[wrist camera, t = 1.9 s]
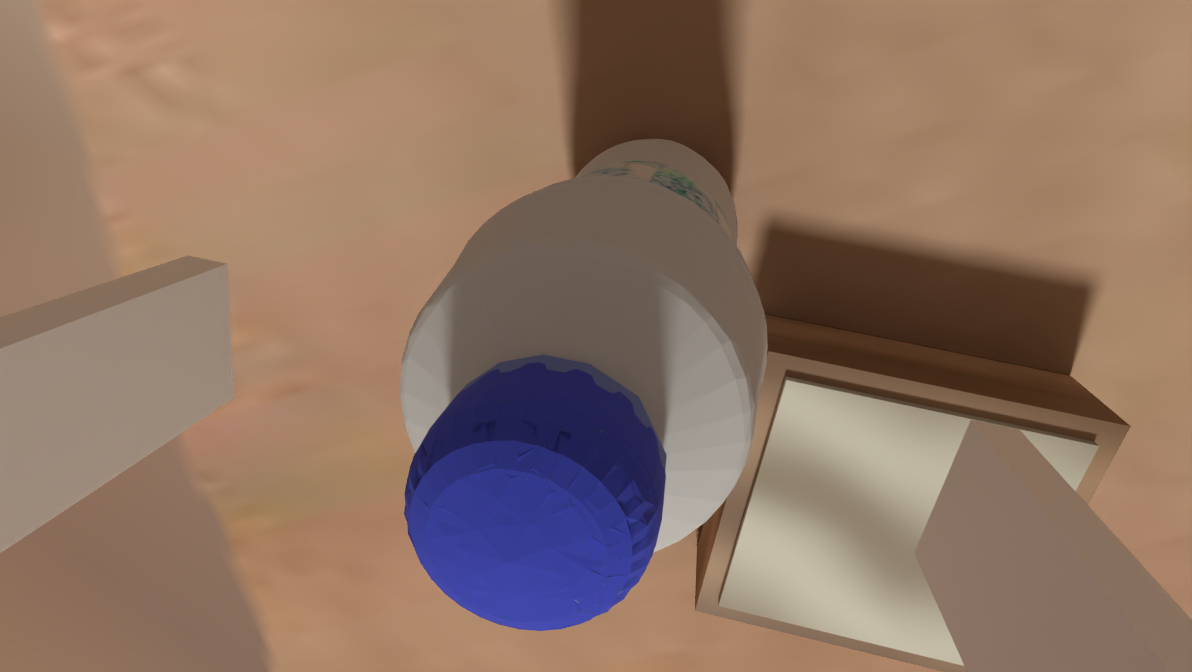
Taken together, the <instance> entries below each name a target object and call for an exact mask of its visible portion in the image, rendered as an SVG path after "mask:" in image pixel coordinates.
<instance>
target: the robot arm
mask: <svg viewBox="0 0 1192 672" xmlns="http://www.w3.org/2000/svg"><path fill="white" fill-rule="evenodd" d="M233 398H234V390H233V371H232V351H231V332H230V313H229V293H228V274H227V264H225V263H221V262H216V261H211V260H206V259H202V258H197V257H192V256H185V257H182V258H179V259H176V260H173V261H170V262H167V263H164V264H161V265H158V266H155V267H152V268H149V269H146V270H143V271H140V272H137V273H134V274H131V275H128V276H125V277H122V278H119V279H116V280H112V281H109V282H106V283H103V284H100V285H97V286H94V287H91V288H88V289H85V290H82V291H79V292H76V293H73V294H70V295H67V296H64V297H61V298H58V299H55V300H52V301H49V302H46V303H43V304H40V305H37V306H34V307H31V308H28V309H25V310H22V311H19V312H16V313H13V314H9V315H6V316H3V317H0V553H1V552H3V551H4V550H6V549H7V548H9V547H10V546H12V545H13V544H15V543H16V542H18V541H19V540H21V539H22V538H24V537H25V536H27V535H28V534H30V533H31V532H33V531H34V530H36V529H37V528H39V527H40V526H42V525H43V524H45V523H46V522H48V521H49V520H51V519H53V518H54V517H55V516H57V515H59V514H60V513H61V512H63V511H65V510H66V509H68V508H69V507H70V506H72V505H73V504H75V503H77V502H78V501H80V500H81V499H82V498H84V497H85V496H87V495H88V494H90V493H92V492H93V491H94V490H96V489H98V488H99V487H101V486H102V485H104V484H105V483H107V482H108V481H110V480H111V479H113V478H114V477H116V476H117V475H119V474H120V473H122V472H123V471H125V470H126V469H128V468H129V467H131V466H132V465H134V464H135V463H137V462H138V461H140V460H141V459H143V458H144V457H145V456H147V455H149V454H150V453H152V452H153V451H155V450H156V449H158V448H159V447H161V446H162V445H164V444H166V443H167V442H168V441H170V440H172V439H173V438H175V437H176V436H178V435H179V434H181V433H182V432H184V431H185V430H187V429H188V428H190V427H191V426H193V425H194V424H196V423H197V422H199V421H200V420H202V419H203V418H205V417H206V416H208V415H209V414H211V413H212V412H214V411H215V410H217V409H218V408H220V407H221V406H223V405H224V404H226V403H227V402H229V401H230V400H232V399H233ZM914 553H915V556H916V558H917V560H918V562H919V565H920V567H921V569H922V571H923V574H924V576H925V578H926V580H927V583H928V585H929V587H930V589H931V592H932V594H933V596H934V598H935V601H936V603H937V605H938V607H939V610H940V612H941V614H942V616H943V619H944V621H945V623H946V626H947V628H948V630H949V632H950V635H951V637H952V639H953V641H954V644H955V646H956V648H957V650H958V653H959V655H960V657H961V659H962V662H963V664H964V666H965V668H966V671H967V672H1192V620H1191V619H1190V617H1189V616H1188V615H1187V614H1186V613H1185V612H1184V611H1183V610H1182V609H1181V607H1180V606H1179V605H1178V604H1177V603H1176V602H1175V601H1174V600H1173V599H1172V598H1171V596H1170V595H1169V594H1168V593H1167V592H1166V591H1165V590H1164V589H1163V588H1162V587H1161V585H1160V584H1159V583H1158V582H1157V581H1156V580H1155V579H1154V578H1153V577H1152V575H1151V574H1150V573H1149V572H1148V571H1147V570H1146V569H1145V568H1144V567H1143V566H1142V564H1141V563H1140V562H1139V561H1138V560H1137V559H1136V558H1135V557H1134V556H1133V555H1132V553H1131V552H1130V551H1129V550H1128V549H1127V548H1126V547H1125V546H1124V545H1123V543H1122V542H1121V541H1120V540H1119V539H1118V538H1117V537H1116V536H1115V535H1114V534H1113V532H1112V531H1111V530H1110V529H1109V528H1108V527H1107V526H1106V525H1105V524H1104V523H1103V521H1102V520H1101V519H1100V518H1099V517H1098V516H1097V515H1096V514H1095V513H1094V511H1093V510H1092V509H1091V508H1090V507H1089V506H1088V505H1087V504H1086V503H1085V502H1084V500H1083V499H1082V498H1081V497H1080V496H1079V495H1078V494H1077V493H1076V492H1075V491H1074V489H1073V488H1072V487H1071V486H1070V485H1069V484H1068V483H1067V482H1066V481H1065V479H1064V478H1063V477H1062V476H1061V475H1060V474H1059V473H1058V472H1057V471H1056V470H1055V468H1054V467H1053V466H1052V465H1051V464H1050V463H1049V462H1048V461H1047V460H1046V458H1045V457H1044V456H1043V455H1042V454H1041V453H1040V452H1039V451H1038V450H1037V449H1036V447H1035V446H1034V445H1033V444H1032V443H1031V442H1030V441H1029V440H1028V439H1027V438H1026V436H1025V435H1024V434H1023V433H1022V432H1021V431H1020V430H1019V429H1015V428H1010V427H1005V426H1000V425H995V424H991V423H986V422H981V421H976V420H972V419H971V421H970V423H969V425H968V428H967V430H966V432H965V435H964V437H963V439H962V442H961V444H960V446H959V449H958V451H957V454H956V456H955V458H954V461H953V463H952V465H951V468H950V470H949V472H948V475H947V477H946V479H945V482H944V484H943V486H942V489H941V491H940V494H939V496H938V498H937V501H936V503H935V505H934V508H933V510H932V512H931V515H930V517H929V519H928V522H927V524H926V526H925V529H924V531H923V534H922V536H921V538H920V541H919V543H918V545H917V548H916V550H915V552H914Z"/></svg>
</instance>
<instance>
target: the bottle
mask: <svg viewBox="0 0 1192 672" xmlns="http://www.w3.org/2000/svg"><path fill="white" fill-rule="evenodd" d="M767 349H768V341H767V324H766V319H765V314H764V310H763V306H762V303H761V300H760V296H759V294H758V291H757V289H756V286H755V284H754V281H753V278H752V275H751V273H750V271H749V269H748V267H747V265H746V263H745V261H744V259H743V257H742V254H741V252H740V251H739V249H738V247H737V217H736V211H735V205H734V202H733V199H732V197H731V194H730V191H729V189H728V186H727V183H726V182H725V180H724V179H723V177H722V176H721V175H720V173H719V172H718V171H717V170H716V169H715V168H714V167H713V166H712V165H711V164H710V163H709V162H708V161H707V160H706V159H705V158H704V157H702V156H701V155H699V154H698V153H696V152H695V151H693V150H691V149H690V148H688V147H686V146H685V145H682V144H680V143H678V142H675V141H671V140H665V139H641V140H633V141H628V142H625V143H621V144H618V145H616V146H614V147H611V148H609V149H607V150H605V151H604V152H602V153H601V154H599V155H597V156H596V157H595V158H594V159H592V160H591V161H590V162H589V163H588V164H587V165H586V166H585V167H583V168H582V169H581V171H580V172H579V173H578V174H577V175H576V177H575V178H574V179H570V180H566V181H563V182H559V183H555V184H552V185H550V186H548V187H545V188H543V189H540V190H538V191H535V192H533V193H531V194H528V195H526V196H524V197H522V198H519V199H518V200H516V201H514V202H513V203H511V204H509V205H508V206H506V207H504V208H503V209H501V210H500V211H499V212H497V213H496V214H495V215H494V216H493V217H491V218H490V219H489V220H488V221H486V222H485V223H484V224H483V225H482V226H481V227H480V228H479V230H478V231H477V232H476V233H475V234H474V235H473V236H472V238H471V239H470V240H469V241H468V242H467V244H466V246H465V248H464V249H463V251H462V253H461V254H460V256H459V258H458V259H457V261H456V263H455V264H454V266H453V267H452V269H451V270H450V271H449V273H448V274H447V275H446V277H445V278H444V279H443V281H442V282H441V284H440V285H439V286H438V288H437V289H436V290H435V292H434V293H433V294H432V296H431V297H430V299H429V300H428V301H427V303H426V304H425V305H424V307H423V308H422V309H421V311H420V312H419V314H418V316H417V318H416V320H415V322H414V324H413V327H412V329H411V331H410V333H409V337H408V340H407V344H406V347H405V351H404V354H403V358H402V368H401V384H400V397H401V404H402V410H403V417H404V423H405V427H406V430H407V433H408V435H409V438H410V441H411V444H412V447H413V449H414V452H415V455H414V457H413V461H412V463H411V466H410V470H409V475H408V479H407V484H406V489H405V502H406V505H405V511H404V515H405V518H406V521H407V524H408V534H409V537H410V539H411V541H412V544H413V546H414V548H415V551H416V553H417V556H418V558H419V560H420V562H421V564H422V565H423V567H424V569H425V570H426V572H427V573H428V575H429V576H430V578H431V579H432V580H433V581H434V582H435V583H436V584H437V585H438V587H439V588H440V589H441V590H442V591H443V592H444V593H445V594H446V595H447V596H449V597H450V598H451V599H453V600H454V601H455V602H456V603H458V604H459V605H460V606H462V607H463V608H465V609H467V610H469V611H470V612H472V613H474V614H476V615H477V616H479V617H481V618H484V619H487V620H489V621H492V622H494V623H497V624H499V625H504V626H508V627H512V628H517V629H524V630H537V631H543V630H555V629H562V628H566V627H570V626H574V625H578V624H581V623H583V622H586V621H589V620H590V619H592V618H593V617H595V616H597V615H600V614H602V613H605V612H608V611H609V609H610V608H611V607H612V606H614V605H615V604H617V603H618V602H620V601H622V600H623V599H624V598H625V596H626V595H627V593H628V592H629V591H630V589H631V588H632V587H633V586H635V585H636V584H637V583H638V582H639V580H640V578H641V576H642V575H643V573H644V572H645V570H646V567H647V565H648V563H649V561H650V559H651V557H652V555H653V553H654V552H656V551H658V550H660V549H663V548H665V547H667V546H669V545H671V544H673V543H676V542H678V541H680V540H681V539H683V538H684V537H685V536H687V535H688V534H690V533H691V532H692V531H694V530H695V529H697V528H698V527H699V526H701V525H702V524H704V523H705V522H706V521H707V520H708V519H709V518H710V517H711V516H712V515H713V514H714V513H715V511H716V510H717V509H718V508H719V507H720V506H721V505H722V503H723V502H724V501H725V499H726V498H727V497H728V495H729V494H730V492H731V491H732V490H733V488H734V487H735V485H736V483H737V481H738V479H739V477H740V475H741V473H742V471H743V469H744V467H745V464H746V461H747V457H748V454H749V450H750V447H751V443H752V440H753V435H754V428H755V420H756V413H757V405H758V398H759V393H760V388H761V385H762V382H763V378H764V373H765V368H766V363H767Z"/></svg>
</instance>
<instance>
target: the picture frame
mask: <svg viewBox="0 0 1192 672" xmlns="http://www.w3.org/2000/svg"><path fill="white" fill-rule="evenodd" d="M765 319H766V324H767V341H768V349H767V363H766V368H765V373H764V378H763V382H762V385H761V388H760V393H759V398H758V405H757V413H756V420H755V428H754V435H753V440H752V443H751V447H750V450H749V454H748V457H747V461H746V464H745V467H744V469H743V471H742V473H741V475H740V477H739V479H738V481H737V483H736V485H735V487H734V488H733V490H732V491H731V492H730V494H729V495H728V497H727V498H726V499H725V501H724V502H723V503H722V505H721V506H720V507H719V508H718V509H717V510H716V511H715V513H714V514H713V515H712V516H711V517H710V518H709V519H708V520H707V521H706V522H705V523H704V524H703V528H702V531H701V535H700V539H699V542H698V546H697V565H696V595H695V611H699V612H703V613H707V614H711V615H715V616H720V617H724V618H728V619H732V620H736V621H740V622H744V623H748V624H752V625H756V626H760V627H764V628H768V629H772V630H777V631H781V632H785V633H789V634H793V635H797V636H801V637H805V638H809V639H813V640H817V641H821V642H825V643H829V644H834V645H838V646H842V647H846V648H850V649H854V650H858V651H862V652H866V653H870V654H874V655H878V656H882V657H886V658H891V659H895V660H899V661H903V662H907V663H911V664H915V665H919V666H923V667H927V668H931V669H935V670H939V671H943V672H967V671H966V668H965V666H964V664H963V662H962V659H961V657H960V655H959V653H958V650H957V648H956V646H955V644H954V641H953V639H952V637H951V635H950V632H949V630H948V628H947V626H946V623H945V621H944V619H943V616H942V614H941V612H940V610H939V607H938V605H937V603H936V601H935V598H934V596H933V594H932V592H931V589H930V587H929V585H928V583H927V580H926V578H925V576H924V574H923V571H922V569H921V567H920V565H919V562H918V560H917V558H916V556H915V553H914V552H915V550H916V548H917V545H918V543H919V541H920V538H921V536H922V534H923V531H924V529H925V526H926V524H927V522H928V519H929V517H930V515H931V512H932V510H933V508H934V505H935V503H936V501H937V498H938V496H939V494H940V491H941V489H942V486H943V484H944V482H945V479H946V477H947V475H948V472H949V470H950V468H951V465H952V463H953V461H954V458H955V456H956V454H957V451H958V449H959V446H960V444H961V442H962V439H963V437H964V435H965V432H966V430H967V428H968V425H969V423H970V421H971V419H972V420H976V421H981V422H986V423H991V424H995V425H1000V426H1005V427H1010V428H1015V429H1019V430H1020V431H1021V432H1022V433H1023V434H1024V435H1025V436H1026V438H1027V439H1028V440H1029V441H1030V442H1031V443H1032V444H1033V445H1034V446H1035V447H1036V449H1037V450H1038V451H1039V452H1040V453H1041V454H1042V455H1043V456H1044V457H1045V458H1046V460H1047V461H1048V462H1049V463H1050V464H1051V465H1052V466H1053V467H1054V468H1055V470H1056V471H1057V472H1058V473H1059V474H1060V475H1061V476H1062V477H1063V478H1064V479H1065V481H1066V482H1067V483H1068V484H1069V485H1070V486H1071V487H1072V488H1073V489H1074V491H1075V492H1076V493H1077V494H1078V495H1079V496H1080V497H1081V498H1082V499H1083V500H1084V502H1085V503H1086V504H1087V505H1088V504H1089V502H1090V500H1091V498H1092V496H1093V495H1094V493H1095V491H1096V489H1097V487H1098V485H1099V484H1100V482H1101V480H1102V478H1103V476H1104V474H1105V473H1106V471H1107V469H1108V467H1109V465H1110V463H1111V461H1112V460H1113V458H1114V456H1115V454H1116V452H1117V450H1118V449H1119V447H1120V445H1121V443H1122V441H1123V439H1124V438H1125V436H1126V434H1127V432H1128V430H1129V428H1130V427H1131V426H1130V425H1128V424H1127V423H1126V422H1125V421H1124V420H1122V419H1121V418H1120V417H1119V416H1118V415H1116V414H1115V413H1114V412H1113V411H1112V410H1111V409H1109V408H1108V407H1107V406H1106V405H1105V404H1103V403H1102V402H1101V401H1100V400H1099V399H1097V398H1096V397H1095V396H1094V395H1093V394H1091V393H1090V392H1089V391H1088V390H1087V389H1086V388H1084V387H1083V386H1082V385H1081V384H1080V383H1078V382H1077V381H1076V380H1075V379H1074V378H1072V377H1071V376H1068V375H1063V374H1058V373H1053V372H1048V371H1043V370H1039V369H1034V368H1029V367H1024V366H1019V365H1014V364H1009V363H1004V362H999V361H994V360H989V359H984V358H979V357H974V356H970V355H965V354H960V353H955V352H950V351H945V350H940V349H935V348H930V347H925V346H920V345H915V344H910V343H905V342H900V341H896V340H891V339H886V338H881V337H876V336H871V335H866V334H861V333H856V332H851V331H846V330H841V329H836V328H831V327H826V326H822V325H817V324H812V323H807V322H802V321H797V320H792V319H787V318H782V317H777V316H772V315H767V314H765Z"/></svg>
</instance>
